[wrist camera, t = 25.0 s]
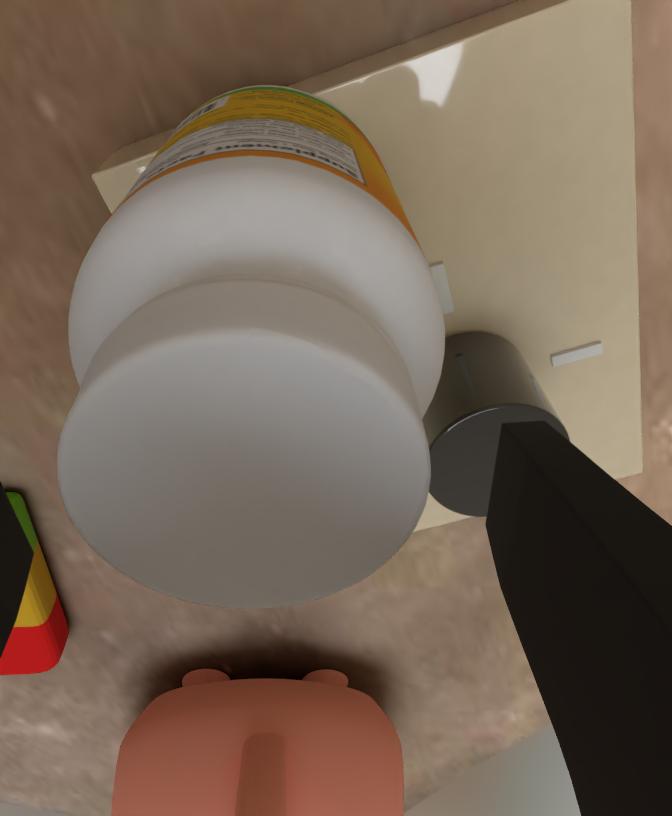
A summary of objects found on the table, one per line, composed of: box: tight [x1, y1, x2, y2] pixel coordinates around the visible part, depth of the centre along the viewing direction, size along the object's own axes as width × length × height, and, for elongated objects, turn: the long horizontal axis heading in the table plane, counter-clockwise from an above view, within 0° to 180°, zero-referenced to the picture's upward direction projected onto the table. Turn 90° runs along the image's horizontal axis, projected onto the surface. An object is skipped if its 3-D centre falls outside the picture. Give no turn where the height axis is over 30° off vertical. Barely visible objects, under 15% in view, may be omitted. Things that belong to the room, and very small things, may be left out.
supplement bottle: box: [57, 85, 445, 609], centre depth 10 cm, size 5×5×10 cm
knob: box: [422, 332, 570, 517], centre depth 16 cm, size 4×4×4 cm
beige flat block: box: [91, 0, 643, 532], centre depth 18 cm, size 14×12×3 cm
